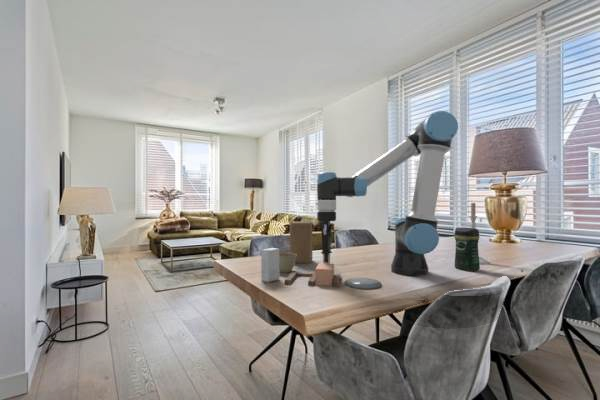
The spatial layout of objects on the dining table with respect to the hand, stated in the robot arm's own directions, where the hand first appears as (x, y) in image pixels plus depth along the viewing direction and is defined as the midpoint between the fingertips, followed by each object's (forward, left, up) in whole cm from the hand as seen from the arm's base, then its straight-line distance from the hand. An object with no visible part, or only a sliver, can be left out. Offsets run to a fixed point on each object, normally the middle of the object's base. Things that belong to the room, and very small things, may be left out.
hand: (326, 269), depth 121 cm
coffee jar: (-60, -27, -3) cm, 66 cm away
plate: (-14, +7, -3) cm, 16 cm away
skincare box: (+21, +8, -3) cm, 23 cm away
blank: (0, +7, -3) cm, 7 cm away
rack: (+4, +6, -3) cm, 8 cm away
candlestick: (-69, -46, -3) cm, 83 cm away
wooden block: (+16, -29, -3) cm, 33 cm away
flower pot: (+19, -8, -3) cm, 21 cm away
